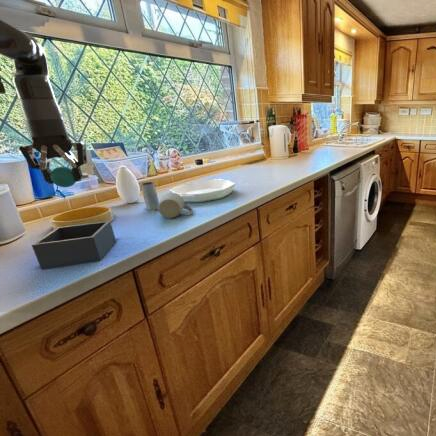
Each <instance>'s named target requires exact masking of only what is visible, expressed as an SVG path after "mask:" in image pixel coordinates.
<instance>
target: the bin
mask: <svg viewBox="0 0 436 436" xmlns="http://www.w3.org/2000/svg"><path fill="white" fill-rule="evenodd" d="M116 239H117V238H116V236H115V233H114V230H113V226H112V221H111V222H110V221H107V222H99V223H90V224H82V225H74V226H65V227H58V228H56V229H55V230H54V229H52V230H51V231H50V232H49V233H47V234H46V235H44V236H43V237H41V238H40V239H39V240H37V241H36V242H34V243H33V244H31V247H32V250H33V252H34V254H35V257H36V259H37V262H38V265H39V267H40V269H41V270H47V269H54V268H61V267H68V266H74V265H81V264H89V263H95V262H100V261H102V260H103V259H104V257H105V256H106V255H107V254H108V253H109V252H110V250H111V249H112V248H113V247H114V245H116V243H117V240H116Z"/></svg>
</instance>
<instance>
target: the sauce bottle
mask: <svg viewBox="0 0 436 436" xmlns="http://www.w3.org/2000/svg"><path fill="white" fill-rule="evenodd" d="M115 175H116V176H115V188H116V191H117V194H118V196H119V198H120V199H122V201H124V202H126V203H128V204H134V203H135V202H137V201H138V200H139V198H140V195H141V186H140V184H139V181H138V179H137V178H136V176H135V175H134V173H133V172H132V171H131V170H130V169H129V168H127V165H124V164H123V161H122V160H120V166H118V170H117V172H116V174H115Z"/></svg>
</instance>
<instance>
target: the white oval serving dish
mask: <svg viewBox="0 0 436 436" xmlns="http://www.w3.org/2000/svg"><path fill="white" fill-rule="evenodd" d="M235 187H236V183H235V182H233V181H230V180H228V179H223V178H215V179H205V180H199V181H193V182H186V183H183V184H179V185H176V186H174V187H172V188H169V189H168V190H169V191H170V192H169V193H176V194H178V195H180V196H181V197H182V198H183V200H184V203H206V202H210V201H211V202H212V201H216V200H220V199H223V198H225V197H227V196H229V195H230V194H232V192H233V191H234V189H235Z"/></svg>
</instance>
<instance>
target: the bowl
mask: <svg viewBox="0 0 436 436" xmlns="http://www.w3.org/2000/svg"><path fill="white" fill-rule="evenodd" d="M49 221H50V223H51V226H52V228H53V229H52V230H55V229H56V228H58V227H65V226H74V225H82V224H90V223H99V222H107V221H110V222H111V223H112V222H113V221H114V214H113V210H112V208H111V207H110V206H105V205H104V206H103V205H102V206H87V207H81V208H77V209H72V210H68V211H64V212H61V213H58V214H56V215H54V216H52V217H51V218H50V219H49Z"/></svg>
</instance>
